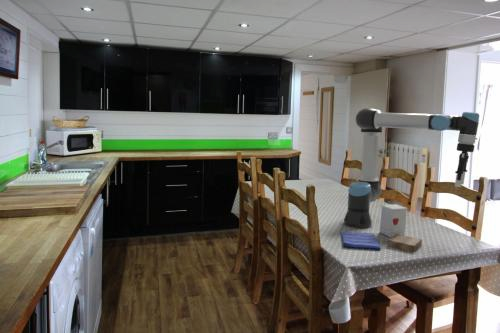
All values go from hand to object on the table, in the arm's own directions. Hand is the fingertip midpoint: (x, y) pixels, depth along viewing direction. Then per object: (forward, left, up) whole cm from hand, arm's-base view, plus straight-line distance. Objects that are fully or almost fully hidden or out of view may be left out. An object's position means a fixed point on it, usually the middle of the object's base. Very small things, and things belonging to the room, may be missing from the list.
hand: (459, 185), depth 195 cm
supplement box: (-26, -18, -27) cm, 41 cm away
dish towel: (-34, -39, -28) cm, 59 cm away
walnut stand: (-15, -31, -27) cm, 44 cm away
